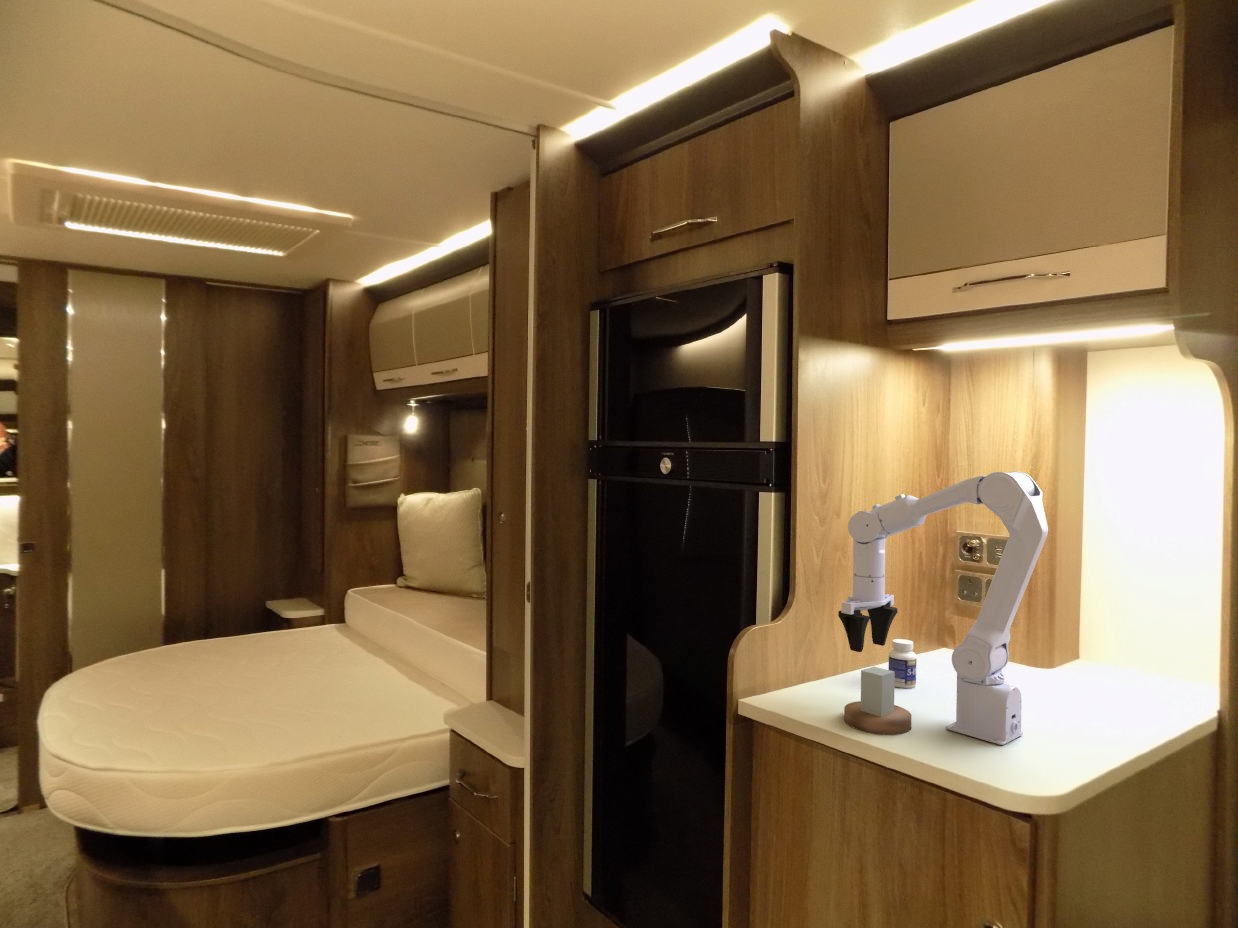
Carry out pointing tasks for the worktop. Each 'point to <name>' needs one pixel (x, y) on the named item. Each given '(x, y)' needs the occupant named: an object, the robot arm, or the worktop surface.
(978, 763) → the worktop surface
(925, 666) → the worktop surface
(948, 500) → the robot arm
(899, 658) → the pill bottle
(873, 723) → the plinth
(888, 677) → the block
